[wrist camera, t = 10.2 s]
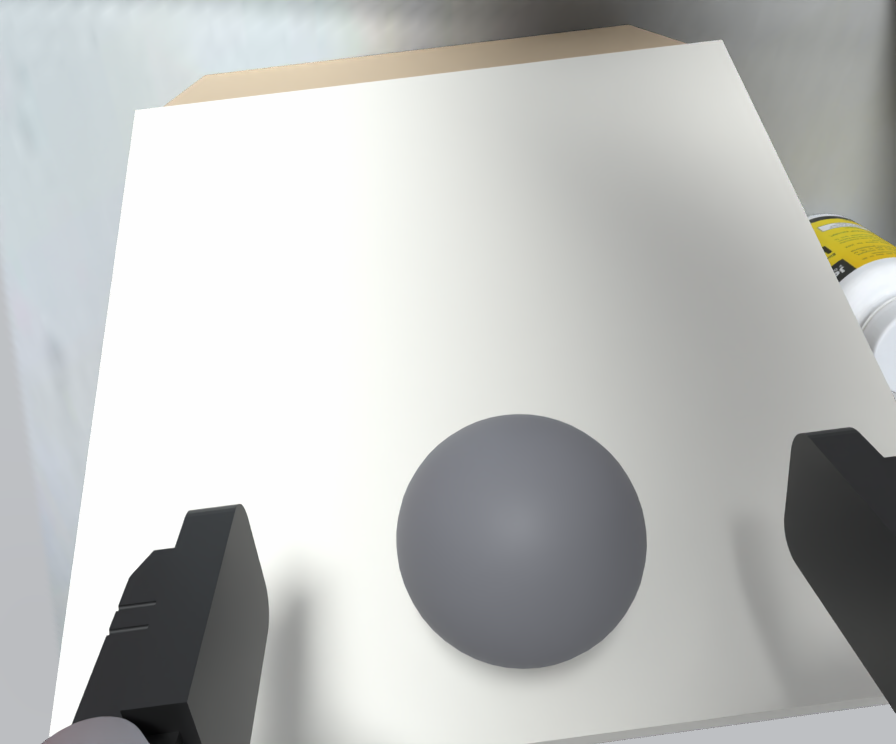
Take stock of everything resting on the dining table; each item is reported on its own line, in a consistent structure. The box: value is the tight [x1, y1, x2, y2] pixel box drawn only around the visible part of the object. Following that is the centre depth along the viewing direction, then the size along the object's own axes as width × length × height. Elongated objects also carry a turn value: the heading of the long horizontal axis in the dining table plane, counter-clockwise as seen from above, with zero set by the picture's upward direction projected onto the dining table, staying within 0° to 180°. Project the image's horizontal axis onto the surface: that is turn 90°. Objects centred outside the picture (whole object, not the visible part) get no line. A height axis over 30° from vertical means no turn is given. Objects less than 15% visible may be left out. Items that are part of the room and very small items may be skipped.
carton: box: [164, 25, 687, 107], centre depth 35 cm, size 19×18×10 cm
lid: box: [49, 40, 896, 744], centre depth 18 cm, size 19×18×6 cm
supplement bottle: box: [808, 214, 896, 393], centre depth 37 cm, size 5×5×10 cm
